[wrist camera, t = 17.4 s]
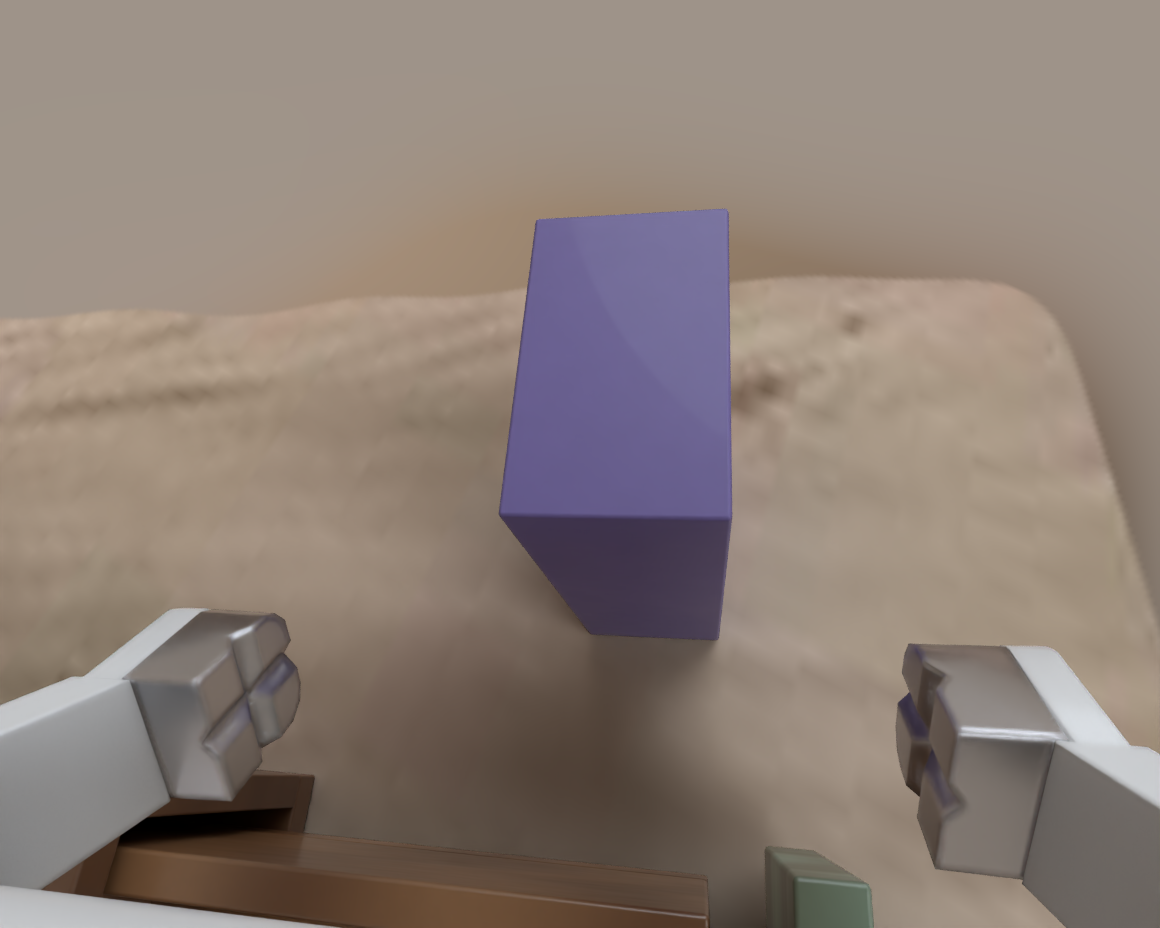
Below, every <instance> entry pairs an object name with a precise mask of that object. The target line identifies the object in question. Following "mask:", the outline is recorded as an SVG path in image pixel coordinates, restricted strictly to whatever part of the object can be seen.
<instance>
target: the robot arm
mask: <svg viewBox="0 0 1160 928" xmlns="http://www.w3.org/2000/svg"><path fill="white" fill-rule="evenodd" d="M290 641H291V639H290V636H289V633H288V629H287V626H286V622H285V620H284V619H283V618H281V617H280V616H278V615H277V614H275V613H263V612H248V611H234V610H219V609H211V610H210V609H205V608H177V609H171V610H168V611H167V612H165V613H164V614H163V615H162V616H160V617H159V618H158V619H156V620H155V621H154V622H153V623H151V624H150V625H149V626H148V627H146V628H145V629H144V630H142V631H141V632H140V633H139V634H137V635H136V636H135V637H133V638H132V639H131V640H130V641H128V642H127V643H126V644H124V645H123V646H122V647H121V648H119V649H118V650H117V651H116V652H114V653H113V654H112V655H110V656H109V657H108V658H107V659H105V660H104V661H103V662H101V663H100V664H99V665H98V666H96V667H95V668H94V669H93V670H91V671H90V672H89V673H87V674H86V675H85V676H84V677H76V676H72V677H70V678H67V679H65V680H62V681H60V682H57V683H55V684H52V685H50V686H47V687H45V688H42V689H39V690H37V691H34V692H32V693H29V694H27V695H24V696H22V697H19V698H17V699H14V700H12V701H9V702H7V703H4V704H2V705H0V928H339V927H331V926H323V925H315V924H307V923H299V922H291V921H283V920H275V919H267V918H259V917H251V916H243V915H235V914H227V913H219V912H211V911H203V910H195V909H188V908H180V907H172V906H164V905H156V904H148V903H140V902H132V901H124V900H116V899H108V898H100V897H92V896H84V895H76V894H68V893H60V892H52V891H44V890H41V889H43V888H44V887H46V886H47V885H49V884H50V883H52V882H53V881H55V880H56V879H57V878H59V877H60V876H62V875H63V874H65V873H66V872H68V871H69V870H71V869H72V868H73V867H75V866H76V865H78V864H79V863H81V862H82V861H84V860H85V859H87V858H88V857H90V856H91V855H92V854H94V853H95V852H97V851H98V850H100V849H101V848H103V847H104V846H106V845H107V844H109V843H110V842H111V841H113V840H114V839H116V838H117V837H119V836H120V835H122V834H123V833H125V832H126V831H127V830H129V829H130V828H132V827H133V826H135V825H136V824H138V823H139V822H141V821H142V820H144V819H145V818H146V817H148V816H149V815H151V814H152V813H154V812H155V811H157V810H158V809H160V808H161V807H163V806H164V805H165V804H167V803H168V802H170V800H171V799H170V798H186V799H202V800H217V801H232V800H233V799H234V798H235V797H236V795H237V794H238V793H239V791H240V790H241V789H242V787H243V786H244V785H245V784H246V782H247V781H248V780H249V778H250V777H251V776H252V775H253V773H254V772H255V771H256V769H257V768H258V767H259V765H260V764H261V763H262V750H261V748H263V747H265V746H266V745H268V744H270V743H271V742H273V741H275V740H277V739H278V738H280V737H282V735H283V734H284V733H285V731H286V730H287V728H288V727H289V726H290V724H291V723H292V722H293V720H294V717H295V714H296V711H297V708H298V705H299V702H300V684H301V682H300V678H299V673H298V669H297V667H296V666H295V665H294V663H293V662H292V661H291V660H290V659H289V658H288V657H287V656H286V655H285V654H284V652H285V650H286V648H287V646H288V644H289V643H290ZM902 674H903V676H904V679H905V682H906V684H907V687H908V689H909V693H908V694H907V695H906V696H905V697H904V698H903V699H902V700H901V701H900V702H899V703H898V707H897V718H896V743H897V753H898V758H899V763H900V768H901V771H902V774H903V777H904V780H905V783H906V786H908V787H909V788H910V789H911V790H912V791H913V792H915V793H916V794H917V795H918V796H919V797H920V800H919V807H918V814H917V819H918V821H919V824H920V827H921V830H922V833H923V836H924V839H925V841H926V844H927V847H928V850H929V853H930V856H931V858H932V861H933V864H934V867H935V869H940V870H948V871H956V872H964V873H972V874H980V875H989V876H997V877H1005V878H1013V879H1021V880H1023V882H1022V884H1023V885H1024V886H1025V887H1026V888H1027V889H1028V890H1029V891H1030V892H1031V893H1032V894H1033V895H1034V896H1035V897H1036V898H1037V899H1038V900H1039V901H1040V902H1041V903H1042V904H1043V905H1044V906H1045V907H1046V908H1047V909H1048V910H1049V911H1050V912H1051V913H1052V914H1053V915H1054V916H1055V917H1056V918H1057V919H1058V920H1059V921H1060V922H1061V923H1062V924H1063V925H1064V926H1065V927H1066V928H1160V754H1159V753H1157V752H1155V751H1153V750H1152V749H1150V748H1148V747H1142V746H1130V744H1129V743H1128V742H1127V740H1126V739H1125V738H1124V737H1123V735H1122V734H1121V733H1120V731H1119V730H1118V729H1117V728H1116V726H1115V725H1114V724H1113V722H1112V721H1111V720H1110V719H1109V717H1108V716H1107V715H1106V713H1105V712H1104V711H1103V710H1102V708H1101V707H1100V706H1099V705H1098V703H1097V702H1096V701H1095V699H1094V698H1093V697H1092V696H1091V694H1090V693H1089V692H1088V690H1087V689H1086V688H1085V687H1084V685H1083V684H1082V683H1081V681H1080V680H1079V679H1078V678H1077V676H1076V675H1075V674H1074V672H1073V671H1072V670H1071V669H1070V667H1069V666H1068V665H1067V663H1066V662H1065V661H1064V660H1063V658H1062V657H1061V656H1060V654H1059V653H1058V652H1057V651H1056V650H1054V649H1052V648H1050V647H1048V646H973V645H940V644H908V647H907V649H906V652H905V655H904V661H903V668H902Z"/></svg>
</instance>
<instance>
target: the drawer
mask: <svg viewBox="0 0 1160 928" xmlns="http://www.w3.org/2000/svg"><path fill="white" fill-rule="evenodd" d="M765 891H766V928H874V922H873V908H872V895H871V888H870V886H869V884H867V883H866V882H864V881H862V880H861V879H859V878H858V877H856V876H854V875H853V874H851V873H849V872H848V871H846V870H845V869H843V868H841V867H840V866H838V865H837V864H835V863H833V862H832V861H830V860H829V859H827V858H825V857H824V856H822V855H821V854H819V853H817V852H816V851H814V850H803V849H793V848H783V847H773V846H768V847H766V848H765ZM102 898H108V899H116V900H124V901H132V902H140V903H148V904H156V905H164V906H172V907H180V908H188V909H195V910H203V911H211V912H219V913H227V914H235V915H243V916H251V917H259V918H267V919H275V920H283V921H291V922H299V923H307V924H315V925H323V926H331V927H339V928H710V915H709V897H708V879H707V877H706V876H705V875H697V874H688V873H678V872H669V871H659V870H650V869H640V868H631V867H621V866H612V865H602V864H593V863H584V862H574V861H565V860H555V859H546V858H536V857H527V856H517V855H508V854H498V853H489V852H479V851H470V850H461V849H451V848H442V847H432V846H423V845H413V844H404V843H394V842H385V841H375V840H366V839H356V838H347V837H338V836H328V835H319V834H309V833H300V832H290V831H281V830H271V829H262V828H252V827H243V826H233V825H224V824H215V823H205V822H196V821H186V820H177V819H157V820H150V821H149V820H145V821H141V822H139V823H138V824H136V825H135V826H133V827H132V828H130V829H129V830H127V831H126V832H125V833H123V834H122V835H120V839H119V842H118V845H117V849H116V852H115V855H114V859H113V862H112V866H111V869H110V872H109V876H108V879H107V882H106V886H105V889H104V892H103V896H102Z"/></svg>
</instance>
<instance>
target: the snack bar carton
mask: <svg viewBox="0 0 1160 928" xmlns="http://www.w3.org/2000/svg"><path fill="white" fill-rule="evenodd" d="M499 516H500V517H501V519H502V520H503V521H504V522H505V524H506V525H507V526H508V528H509V529H510V530H511V532H512V533H513V534H514V535H515V537H516V538H517V539H518V541H519V542H520V543H521V545H522V546H523V547H524V548H525V550H526V551H527V552H528V554H529V555H530V556H531V558H532V559H533V560H534V561H535V563H536V564H537V565H538V567H539V568H540V569H541V571H542V572H543V573H544V574H545V576H546V577H547V578H548V580H549V581H550V582H551V584H552V585H553V586H554V587H555V589H556V590H557V591H558V593H559V594H560V595H561V597H562V598H563V599H564V600H565V602H566V603H567V604H568V606H569V607H570V608H571V610H572V611H573V612H574V613H575V615H576V616H577V617H578V619H579V620H580V621H581V623H582V624H583V625H584V626H585V628H586V629H587V630H588V632H589V633H590V634H594V635H615V636H636V637H658V638H679V639H700V640H718V638H719V631H720V622H721V613H722V604H723V595H724V586H725V577H726V568H727V559H728V550H729V541H730V532H731V523H732V465H731V381H730V296H729V214H728V211H727V209H712V210H695V211H677V212H659V213H642V214H625V215H606V216H590V217H571V218H555V219H539V220H537V221H536V225H535V232H534V241H533V248H532V257H531V264H530V272H529V279H528V287H527V295H526V303H525V311H524V319H523V327H522V334H521V342H520V350H519V358H518V366H517V374H516V382H515V389H514V397H513V405H512V413H511V421H510V429H509V437H508V444H507V452H506V460H505V468H504V476H503V484H502V492H501V499H500V507H499Z"/></svg>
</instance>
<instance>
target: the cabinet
mask: <svg viewBox="0 0 1160 928" xmlns="http://www.w3.org/2000/svg"><path fill="white" fill-rule="evenodd" d="M313 782H314V776H313V775H307V774H296V773H285V772H274V771H263V770H256V771H255V772H254V773H253V775H252V776H251V777H250V778H249V780H248V781H247V782H246V784H245V785H244V786H243V787H242V789H241V790H240V791H239V793H238V794H237V795H236V797H235V798H234V799H233V800H232V801H217V800H202V799H186V798H170V799H171V800H170V802H168V803H167V804H165V805H164V806H163V807H161V808H160V809H158V810H157V811H155V812H154V813H152V814H151V815H149V816H148V817H146V818H145V819H144V820H142V821H145V820H149V821H150V820H157V819H177V820H186V821H196V822H205V823H215V824H224V825H233V826H243V827H252V828H262V829H271V830H281V831H290V832H300V833H303V831H304V826H305V821H306V816H307V811H308V806H309V801H310V797H311V792H312V787H313ZM119 839H120V836H119V837H117V838H116V839H114V840H113V841H111V842H110V843H109V844H107V845H106V846H104V847H103V848H101V849H100V850H98V851H97V852H95V853H94V854H92V855H91V856H90V857H88V858H87V859H85V860H84V861H82V862H81V863H79V864H78V865H76V866H75V867H73V868H72V869H71V870H69V871H68V872H66V873H65V874H63V875H62V876H60V877H59V878H57V879H56V880H55V881H53V882H52V883H50V884H49V885H47V886H46V887H44V888H43V889H41V890H44V891H52V892H60V893H68V894H76V895H84V896H92V897H100V898H102V896H103V892H104V889H105V886H106V882H107V879H108V876H109V872H110V869H111V866H112V862H113V859H114V855H115V852H116V849H117V845H118V842H119Z"/></svg>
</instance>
